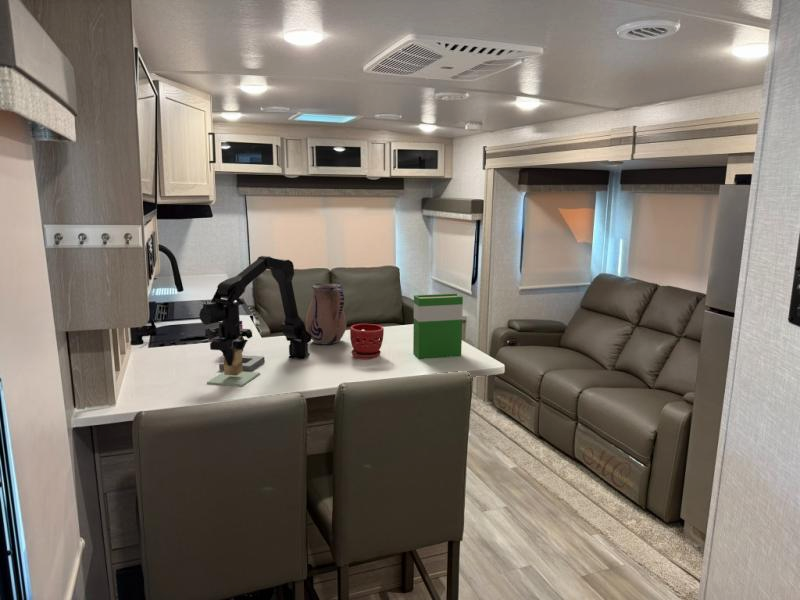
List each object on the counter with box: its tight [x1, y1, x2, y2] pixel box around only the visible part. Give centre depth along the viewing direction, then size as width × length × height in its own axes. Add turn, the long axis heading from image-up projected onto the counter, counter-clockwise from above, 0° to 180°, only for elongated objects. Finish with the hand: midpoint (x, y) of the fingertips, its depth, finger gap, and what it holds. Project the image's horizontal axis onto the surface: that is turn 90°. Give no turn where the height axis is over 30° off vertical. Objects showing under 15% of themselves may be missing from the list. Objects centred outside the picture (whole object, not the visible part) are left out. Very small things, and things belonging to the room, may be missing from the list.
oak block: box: [222, 349, 243, 376], centre depth 187 cm, size 4×4×8 cm
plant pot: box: [349, 323, 385, 360], centre depth 214 cm, size 13×13×12 cm
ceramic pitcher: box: [305, 283, 347, 345], centre depth 232 cm, size 18×21×25 cm
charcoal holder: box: [218, 354, 266, 372], centre depth 202 cm, size 12×12×2 cm
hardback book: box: [412, 293, 464, 360], centre depth 215 cm, size 18×7×24 cm, turn 104°
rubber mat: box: [206, 371, 261, 387], centre depth 188 cm, size 13×13×1 cm
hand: (233, 363), depth 187 cm, fingers closed on oak block, 4 cm apart
